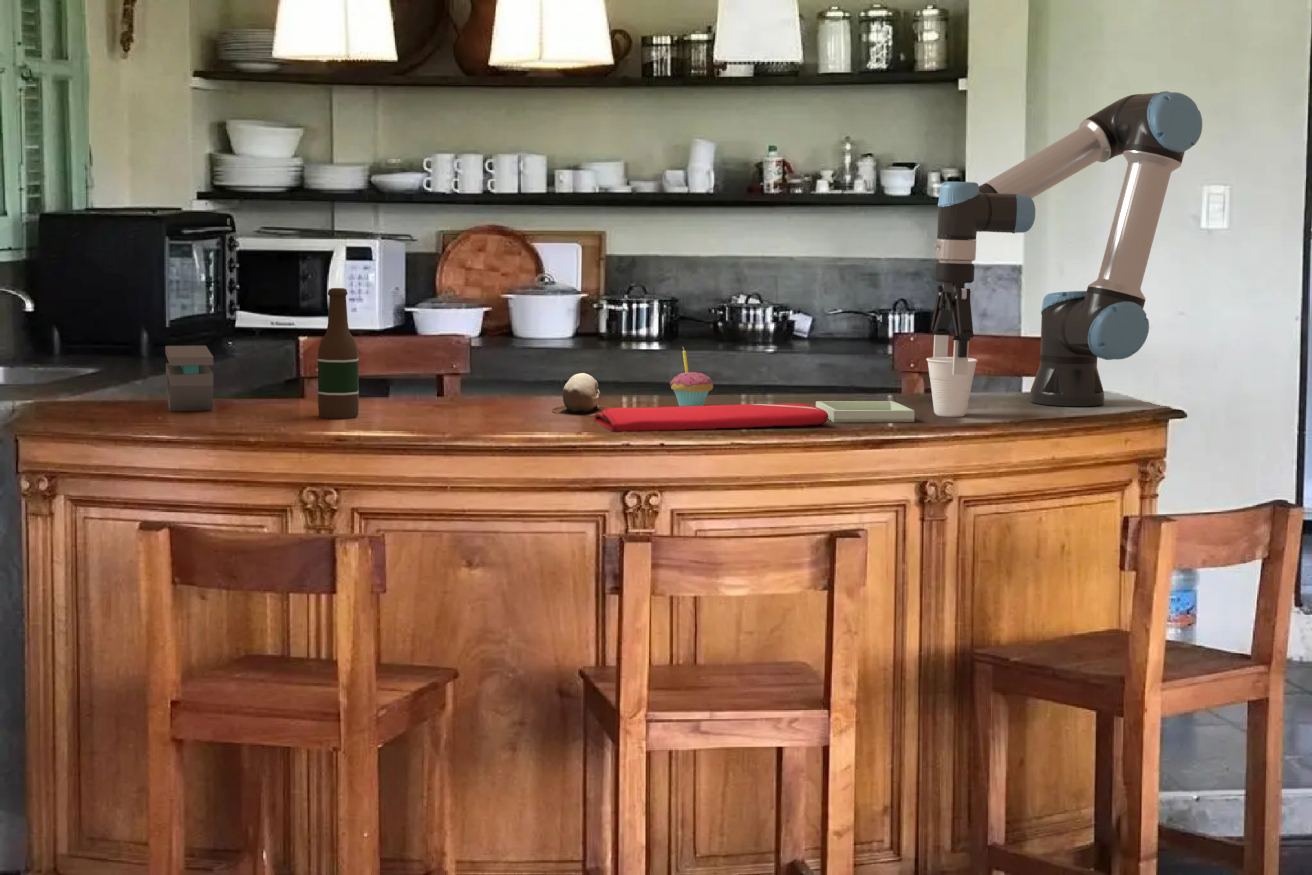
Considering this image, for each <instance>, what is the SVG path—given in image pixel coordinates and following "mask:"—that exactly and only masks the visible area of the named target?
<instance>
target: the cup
mask: <svg viewBox="0 0 1312 875" xmlns="http://www.w3.org/2000/svg"><path fill="white" fill-rule="evenodd" d="M926 361H927V367H928V375H929V381H930V390H931V396H932V405H933V407H932V408H933V413H934V414H935V416H939V417H944V418H945V417H946V418H947V417H949V418H956V417H957V418H959V417H964V416H965V415H966V414H967V411H968V406H969V401H970V400H969V399H970V395H971V390H972V385H973V380H974V376H975V370H976V366H977V363H978V359H977V358H972V357H968V370H967V375H953V374H952V373H953V356H947V357H933V356H932V357H927V358H926Z"/></svg>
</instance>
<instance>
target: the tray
mask: <svg viewBox="0 0 1312 875" xmlns="http://www.w3.org/2000/svg"><path fill="white" fill-rule="evenodd" d="M815 407H817V408H820V409H822V410H825V411H826V412H827V414H828V419H829V420H828V421H830V420H831V421H830V422H832V423H915V409H912V408H909V407H907V406H906V405H904V404H901V403H898V402H895V400H883V401H882V400H879V401H878V400H877V401H876V400H874V401H873V400H867V401H866V400H861V401H860V400H854V401H852V400H851V401H849V400H846V401H843V400H839V401H837V400H836V401H835V400H831V401H830V400H829V401H827V400H826V401H825V400H824V401H821V400H817V401H815Z"/></svg>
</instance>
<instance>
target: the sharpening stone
mask: <svg viewBox="0 0 1312 875" xmlns="http://www.w3.org/2000/svg"><path fill="white" fill-rule="evenodd" d="M164 348H165V349H164V350H165V356H166V359H167V361H168V362H166V363H165V376H166V377H165V378H166V381H165V382H166V397H167V406H168V407H167V408H168V409H169V411H170V412H192V411H195V412H196V411H198V412H199V411H201V412H202V411H213V400H214V372H213V371H212V369H211V368H210V366H214V356H213V354H212V353H211V351H210V349H209V348H208V346H207V345H165V346H164Z"/></svg>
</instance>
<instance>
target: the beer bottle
mask: <svg viewBox="0 0 1312 875" xmlns="http://www.w3.org/2000/svg"><path fill="white" fill-rule="evenodd" d="M327 295H328V297H329V298H328V300H329V301H328V312H327V313H328V314H327V316H328V317H327V327H326V332H325V334H324V336H323V338H322V339H321V340H320V344H319V346H318V351H317V352H318V353H317V402H318V404H317V405H318V408H317V409H318V417H319V419H320V418H321V419H328V420H347V419H349V420H350V419H356V418H357V417H358V415H359V411H360V410H359V406H360V402H359V401H360V400H359V399H360V398H359V397H360V392H359V390H360V388H359V383H360V382H359V378H360V376H359V349H358V346H357V342H356V339H355V338H354V337H353V335H352V334H351V332H350V328H349V323H348V322H349V320H348V306H347V295H348V291H347V288H344V287H336V288H335V287H332V288H329V289H328V291H327Z"/></svg>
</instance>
